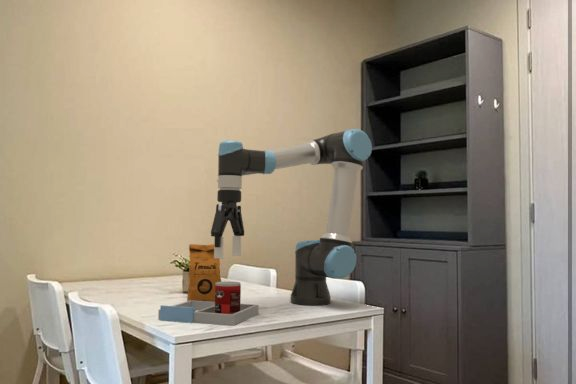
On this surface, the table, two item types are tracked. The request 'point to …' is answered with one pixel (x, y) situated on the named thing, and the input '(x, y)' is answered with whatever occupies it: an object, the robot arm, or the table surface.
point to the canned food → (227, 297)
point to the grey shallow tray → (205, 313)
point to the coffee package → (203, 273)
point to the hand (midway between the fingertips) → (227, 257)
